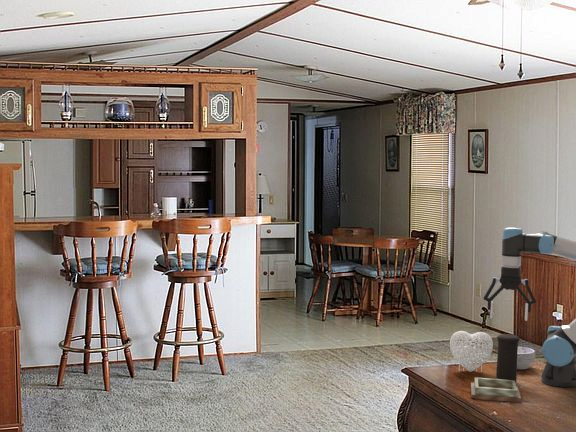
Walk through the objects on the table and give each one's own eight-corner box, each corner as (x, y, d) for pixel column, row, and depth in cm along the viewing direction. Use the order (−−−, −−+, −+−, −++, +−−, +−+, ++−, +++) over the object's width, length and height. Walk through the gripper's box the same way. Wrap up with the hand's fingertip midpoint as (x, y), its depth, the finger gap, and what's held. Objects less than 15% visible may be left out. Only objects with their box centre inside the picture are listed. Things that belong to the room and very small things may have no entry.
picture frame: (517, 389, 336) (518, 379, 336) (520, 402, 319) (521, 391, 318) (470, 386, 340) (471, 376, 339) (471, 398, 322) (471, 388, 322)
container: (515, 381, 349) (517, 333, 348) (518, 387, 340) (521, 337, 339) (493, 380, 350) (495, 332, 348) (496, 386, 341) (498, 336, 339)
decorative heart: (448, 373, 360) (450, 332, 359) (448, 367, 371) (449, 327, 370) (492, 375, 358) (494, 335, 356) (490, 369, 368) (492, 330, 367)
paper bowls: (491, 364, 378) (492, 346, 377) (519, 362, 384) (520, 344, 383) (513, 372, 364) (514, 354, 364) (542, 370, 370) (542, 352, 370)
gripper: (542, 267, 343) (539, 319, 344) (478, 263, 348) (476, 315, 349) (544, 269, 336) (541, 322, 337) (479, 265, 340) (476, 318, 342)
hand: (508, 319), depth 343 cm, fingers open, 13 cm apart
